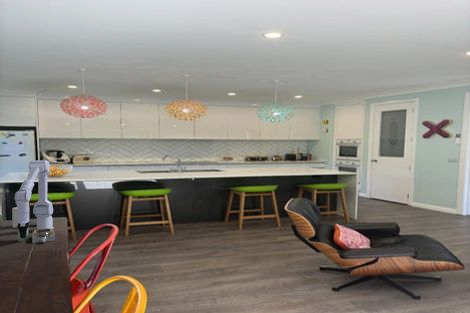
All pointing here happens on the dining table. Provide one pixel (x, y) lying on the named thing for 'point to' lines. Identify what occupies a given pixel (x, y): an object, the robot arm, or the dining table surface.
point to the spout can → (23, 238)
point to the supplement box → (14, 217)
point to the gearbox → (43, 235)
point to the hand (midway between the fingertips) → (23, 236)
